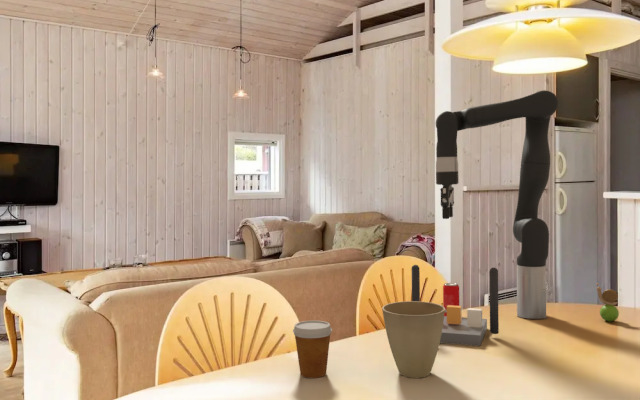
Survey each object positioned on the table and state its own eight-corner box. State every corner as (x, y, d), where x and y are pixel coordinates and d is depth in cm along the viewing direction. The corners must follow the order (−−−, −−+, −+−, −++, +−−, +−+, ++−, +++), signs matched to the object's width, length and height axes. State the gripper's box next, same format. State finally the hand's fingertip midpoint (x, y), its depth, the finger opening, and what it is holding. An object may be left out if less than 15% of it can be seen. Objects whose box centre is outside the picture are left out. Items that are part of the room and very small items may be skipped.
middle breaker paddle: (461, 322, 174) (461, 306, 174) (460, 324, 172) (460, 307, 171) (448, 321, 175) (447, 305, 175) (446, 323, 173) (446, 306, 173)
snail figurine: (598, 318, 190) (598, 281, 190) (620, 320, 187) (619, 283, 186) (595, 321, 186) (594, 284, 186) (617, 324, 182) (617, 286, 182)
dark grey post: (498, 332, 170) (498, 267, 169) (498, 334, 168) (497, 268, 167) (490, 331, 171) (489, 266, 170) (489, 333, 169) (489, 268, 168)
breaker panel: (487, 328, 180) (486, 302, 179) (480, 346, 161) (479, 317, 161) (432, 324, 186) (431, 299, 186) (419, 341, 167) (419, 313, 167)
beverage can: (440, 319, 192) (439, 283, 192) (452, 317, 194) (452, 282, 194) (450, 323, 188) (449, 286, 187) (462, 321, 190) (462, 284, 189)
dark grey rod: (420, 326, 178) (420, 264, 178) (419, 328, 176) (418, 265, 176) (413, 325, 179) (412, 264, 179) (411, 327, 177) (410, 265, 176)
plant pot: (380, 363, 147) (380, 301, 147) (439, 363, 147) (439, 300, 146) (385, 384, 132) (384, 315, 132) (451, 383, 132) (450, 314, 131)
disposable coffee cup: (319, 383, 134) (318, 331, 134) (285, 376, 139) (284, 326, 139) (340, 371, 142) (339, 322, 142) (307, 365, 147) (306, 318, 147)
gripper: (455, 170, 190) (456, 219, 191) (460, 170, 203) (461, 216, 204) (432, 170, 193) (433, 219, 193) (439, 171, 206) (439, 216, 207)
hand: (447, 217), depth 199 cm, fingers open, 8 cm apart
